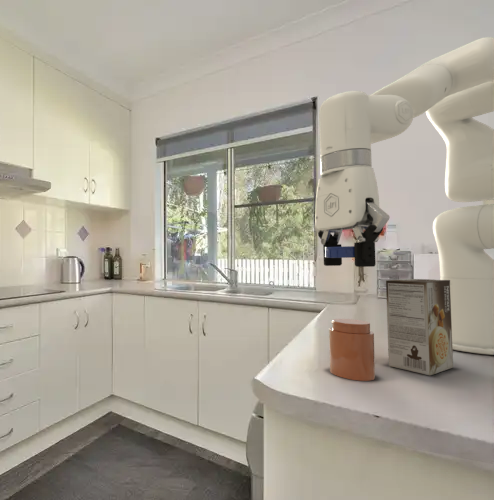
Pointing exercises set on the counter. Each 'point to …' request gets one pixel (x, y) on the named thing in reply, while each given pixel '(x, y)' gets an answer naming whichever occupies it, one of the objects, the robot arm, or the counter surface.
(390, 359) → the coffee box
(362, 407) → the counter surface
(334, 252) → the lid
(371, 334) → the jar
